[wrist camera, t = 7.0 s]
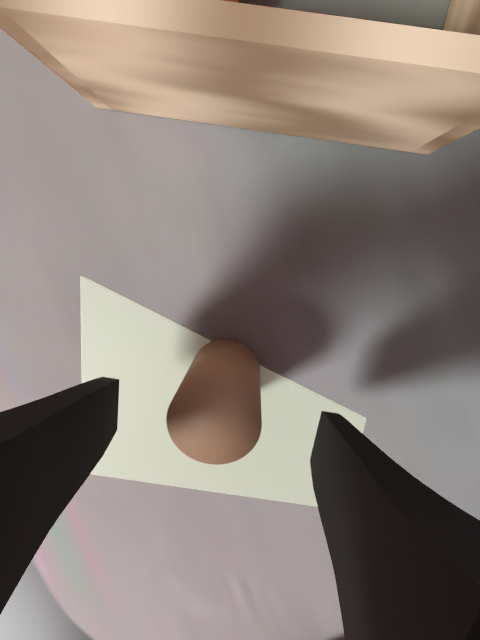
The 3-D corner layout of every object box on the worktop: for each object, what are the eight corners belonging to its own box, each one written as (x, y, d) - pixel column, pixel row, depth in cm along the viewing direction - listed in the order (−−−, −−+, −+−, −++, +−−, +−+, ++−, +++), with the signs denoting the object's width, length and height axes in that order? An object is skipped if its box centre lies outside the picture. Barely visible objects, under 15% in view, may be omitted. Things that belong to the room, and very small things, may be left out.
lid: (405, 237, 12) (491, 235, 8) (339, 500, 15) (372, 604, 11) (87, 198, 12) (-7, 174, 8) (89, 464, 16) (23, 552, 11)
